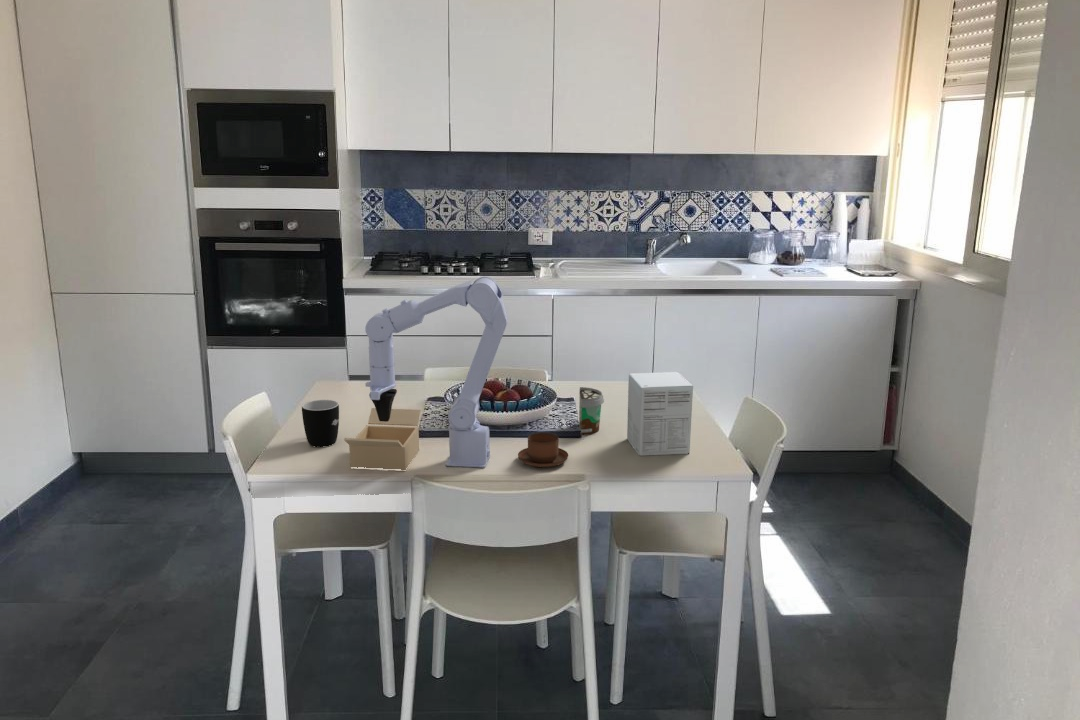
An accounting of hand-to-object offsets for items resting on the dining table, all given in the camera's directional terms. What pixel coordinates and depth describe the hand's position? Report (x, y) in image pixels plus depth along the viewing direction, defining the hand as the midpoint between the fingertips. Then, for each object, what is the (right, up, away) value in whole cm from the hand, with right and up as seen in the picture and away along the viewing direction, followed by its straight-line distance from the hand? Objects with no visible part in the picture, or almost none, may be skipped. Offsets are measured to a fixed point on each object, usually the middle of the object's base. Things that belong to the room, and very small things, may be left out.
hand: (384, 420), depth 213 cm
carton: (0, -9, +2) cm, 10 cm away
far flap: (+1, 0, +9) cm, 9 cm away
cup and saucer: (+38, -10, +2) cm, 39 cm away
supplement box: (+66, -7, +13) cm, 68 cm away
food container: (+50, -4, +25) cm, 56 cm away
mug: (-18, -6, +15) cm, 24 cm away
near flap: (-1, -4, -8) cm, 9 cm away
